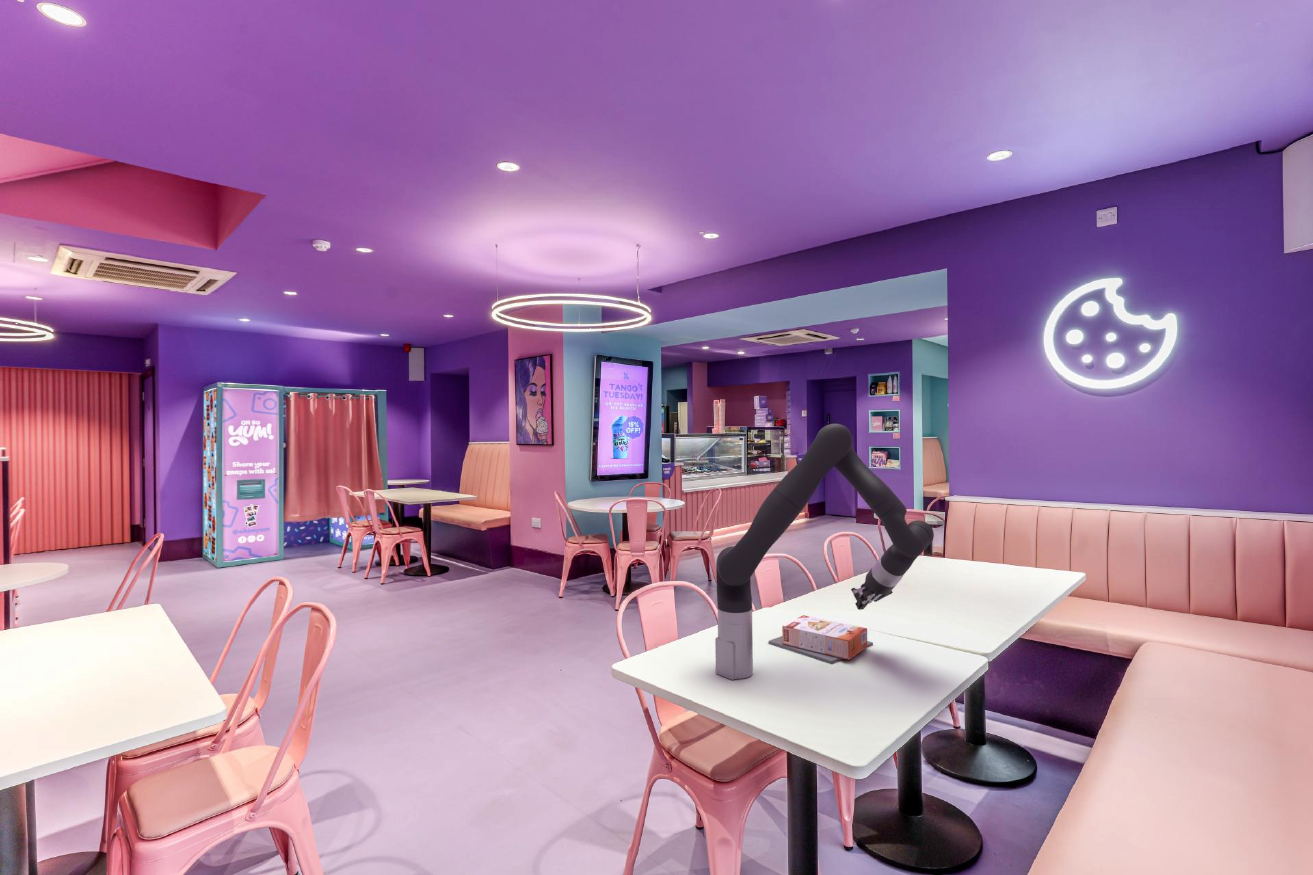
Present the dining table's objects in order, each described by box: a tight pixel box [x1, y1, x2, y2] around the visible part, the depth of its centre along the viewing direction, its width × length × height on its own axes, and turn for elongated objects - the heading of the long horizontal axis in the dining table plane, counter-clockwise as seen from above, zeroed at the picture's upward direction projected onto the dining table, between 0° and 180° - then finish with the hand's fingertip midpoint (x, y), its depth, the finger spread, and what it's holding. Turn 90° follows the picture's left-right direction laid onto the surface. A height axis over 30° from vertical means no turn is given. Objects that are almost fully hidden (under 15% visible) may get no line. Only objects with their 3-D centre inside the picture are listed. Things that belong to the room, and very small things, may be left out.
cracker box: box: [781, 615, 868, 660], centre depth 174 cm, size 14×6×21 cm
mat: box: [767, 635, 874, 665], centre depth 178 cm, size 22×22×1 cm
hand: (859, 606), depth 172 cm, fingers closed
